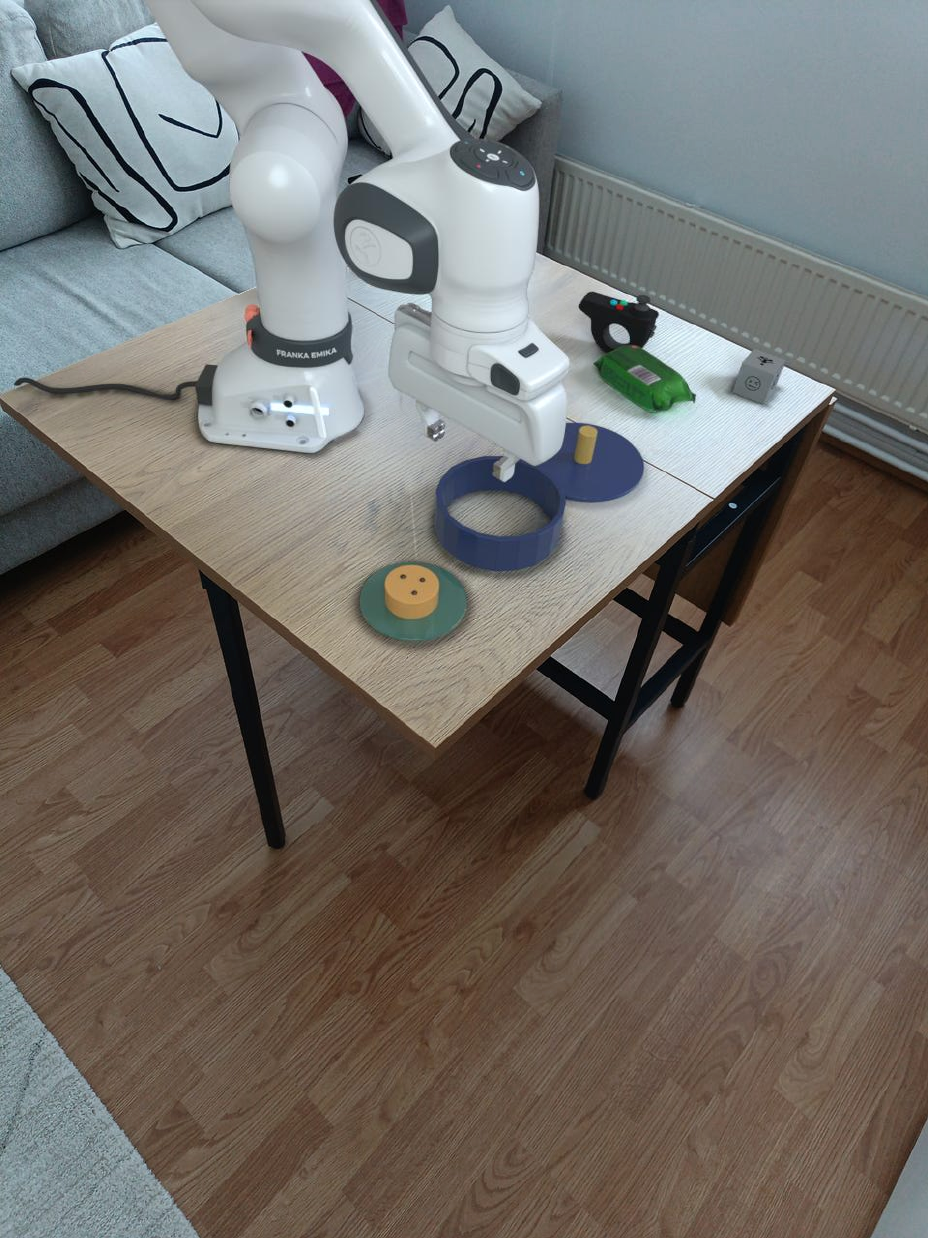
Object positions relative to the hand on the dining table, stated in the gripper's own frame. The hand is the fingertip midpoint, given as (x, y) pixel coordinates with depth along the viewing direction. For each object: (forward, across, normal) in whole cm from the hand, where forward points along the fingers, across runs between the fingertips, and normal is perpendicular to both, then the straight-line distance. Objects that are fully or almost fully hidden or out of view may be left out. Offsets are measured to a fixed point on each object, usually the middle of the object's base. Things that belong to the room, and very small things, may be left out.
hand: (467, 456), depth 91 cm
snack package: (+16, -4, +46) cm, 49 cm away
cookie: (+15, 0, -9) cm, 17 cm away
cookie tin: (+16, 0, +8) cm, 18 cm away
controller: (+16, -14, +53) cm, 57 cm away
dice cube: (+16, +8, +60) cm, 62 cm away
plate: (+16, 0, -8) cm, 18 cm away
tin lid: (+15, 0, +26) cm, 30 cm away
